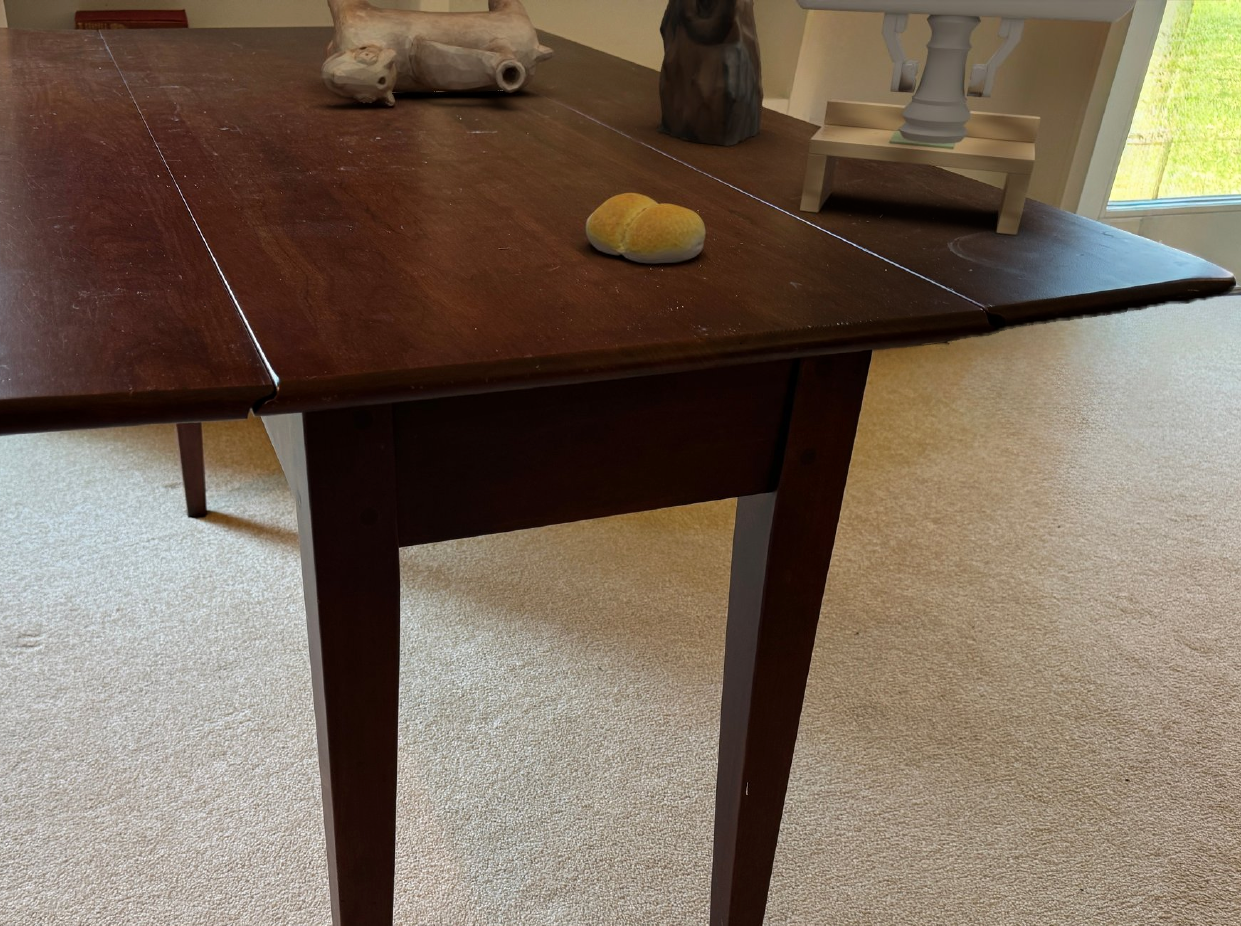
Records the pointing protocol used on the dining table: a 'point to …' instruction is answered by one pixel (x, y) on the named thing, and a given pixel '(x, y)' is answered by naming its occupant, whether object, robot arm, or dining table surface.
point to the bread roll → (645, 230)
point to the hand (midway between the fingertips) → (939, 93)
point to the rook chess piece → (942, 84)
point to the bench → (923, 151)
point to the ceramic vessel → (429, 50)
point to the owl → (710, 71)
